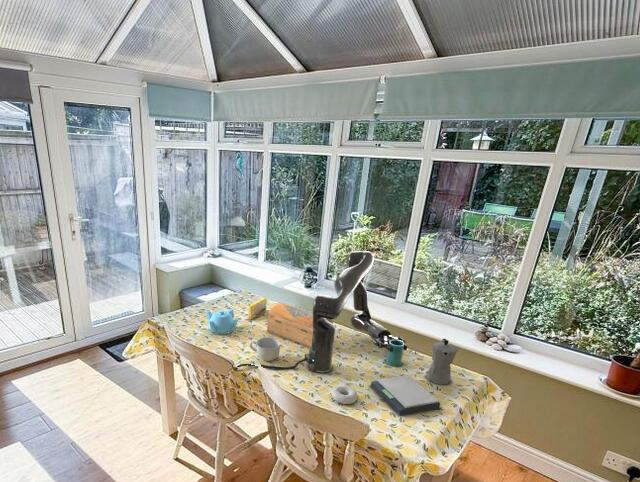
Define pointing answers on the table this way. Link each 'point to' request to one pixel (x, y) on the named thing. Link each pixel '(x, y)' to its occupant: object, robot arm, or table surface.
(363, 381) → the table surface
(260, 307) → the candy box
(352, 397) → the donut
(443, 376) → the coffeepot
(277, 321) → the wooden box
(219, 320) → the teapot
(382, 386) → the scale
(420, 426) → the table surface
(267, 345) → the teacup
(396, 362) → the canister
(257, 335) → the table surface
